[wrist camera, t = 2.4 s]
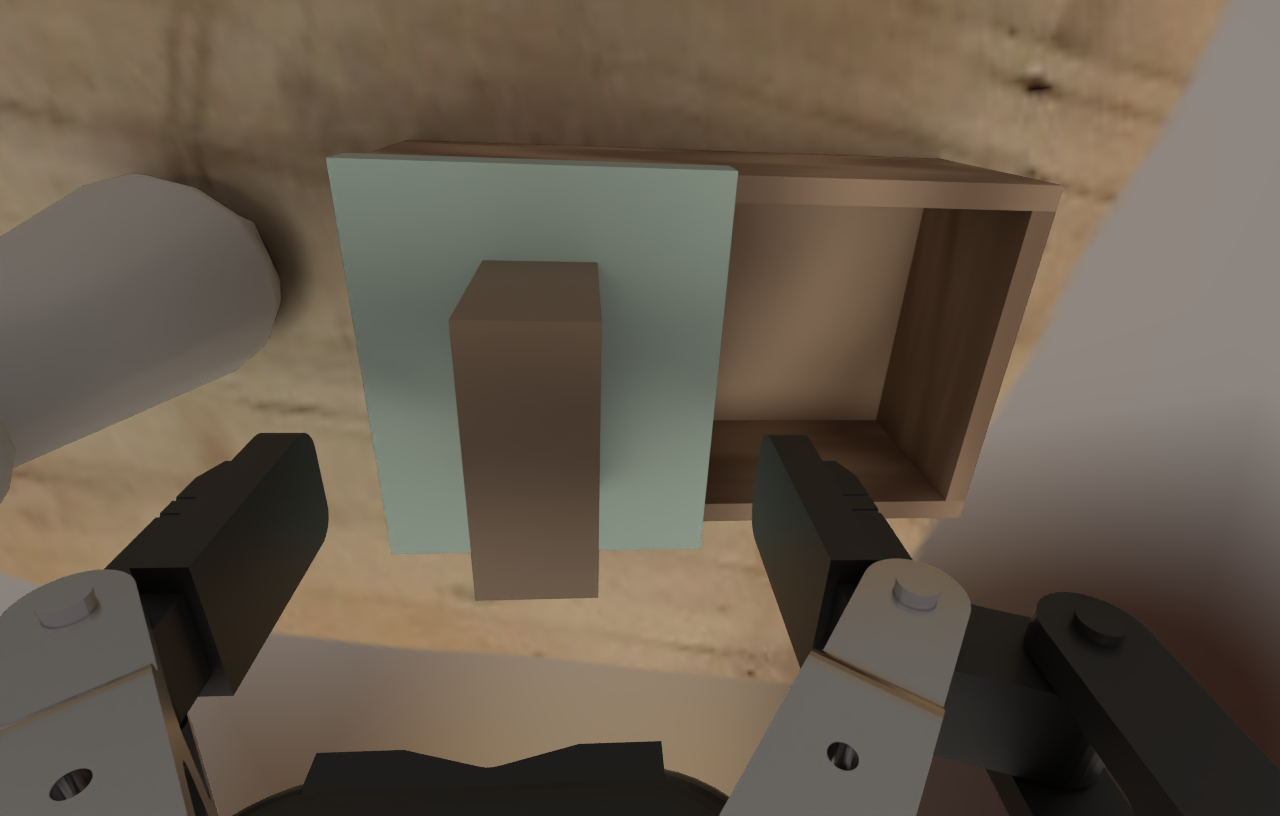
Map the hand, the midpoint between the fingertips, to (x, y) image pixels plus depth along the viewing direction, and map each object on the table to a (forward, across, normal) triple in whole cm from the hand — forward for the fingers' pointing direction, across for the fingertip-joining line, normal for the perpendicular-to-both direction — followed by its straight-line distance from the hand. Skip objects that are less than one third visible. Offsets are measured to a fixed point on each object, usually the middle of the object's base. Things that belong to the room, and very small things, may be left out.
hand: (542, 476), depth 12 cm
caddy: (+11, -4, 0) cm, 12 cm away
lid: (+5, 0, 0) cm, 5 cm away
